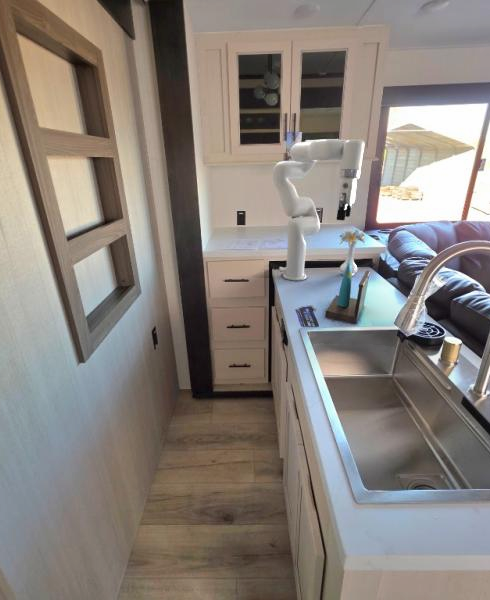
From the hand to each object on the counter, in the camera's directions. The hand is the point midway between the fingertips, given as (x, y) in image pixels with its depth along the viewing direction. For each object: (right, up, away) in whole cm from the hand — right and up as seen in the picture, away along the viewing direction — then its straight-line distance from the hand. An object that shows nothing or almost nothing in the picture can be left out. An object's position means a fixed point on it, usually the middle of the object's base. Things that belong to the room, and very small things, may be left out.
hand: (343, 218), depth 132 cm
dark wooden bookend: (0, -39, -1) cm, 39 cm away
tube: (0, -37, -2) cm, 37 cm away
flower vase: (+16, -20, +42) cm, 50 cm away
